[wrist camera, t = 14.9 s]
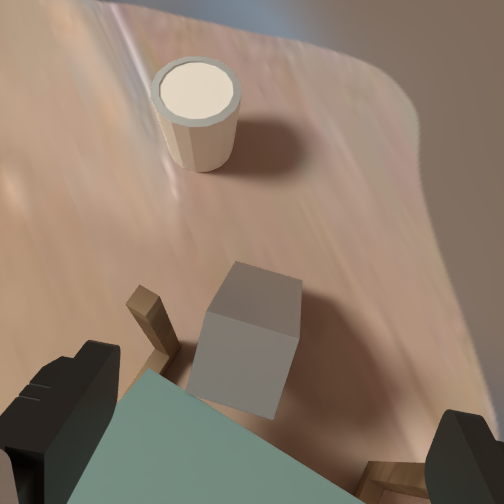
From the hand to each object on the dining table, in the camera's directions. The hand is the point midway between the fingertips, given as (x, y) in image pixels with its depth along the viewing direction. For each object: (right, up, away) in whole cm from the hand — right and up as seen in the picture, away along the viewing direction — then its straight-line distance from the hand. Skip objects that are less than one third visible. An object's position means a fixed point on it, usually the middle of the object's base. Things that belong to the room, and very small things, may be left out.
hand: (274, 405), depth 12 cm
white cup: (-5, +13, +30) cm, 34 cm away
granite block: (-1, -2, +13) cm, 14 cm away
